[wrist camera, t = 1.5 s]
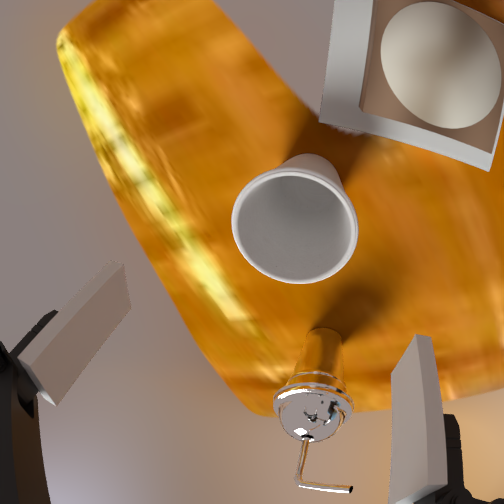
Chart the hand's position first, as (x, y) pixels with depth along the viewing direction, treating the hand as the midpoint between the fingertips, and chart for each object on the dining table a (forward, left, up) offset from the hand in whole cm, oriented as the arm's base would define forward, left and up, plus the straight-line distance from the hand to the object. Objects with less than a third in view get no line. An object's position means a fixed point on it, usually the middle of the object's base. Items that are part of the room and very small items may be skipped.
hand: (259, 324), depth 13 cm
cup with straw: (-6, +19, -19) cm, 27 cm away
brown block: (-8, -13, -17) cm, 23 cm away
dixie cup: (0, 0, -19) cm, 19 cm away
